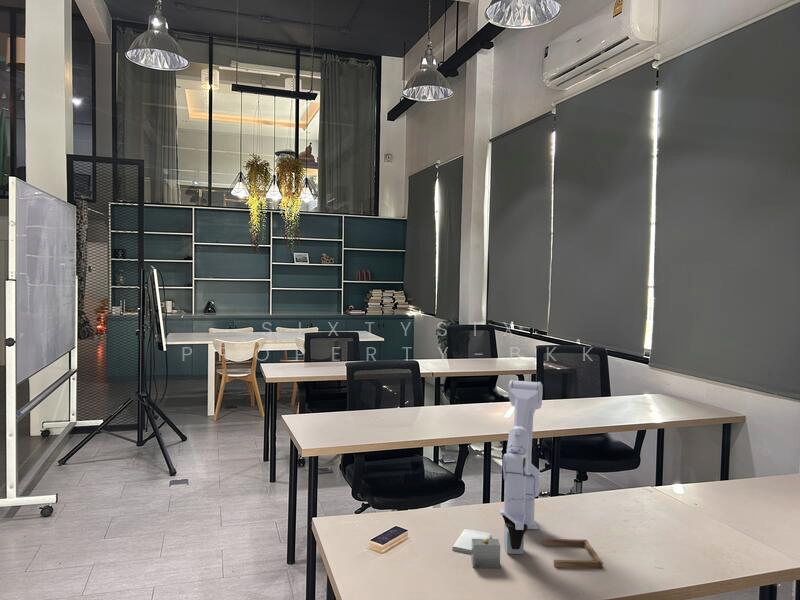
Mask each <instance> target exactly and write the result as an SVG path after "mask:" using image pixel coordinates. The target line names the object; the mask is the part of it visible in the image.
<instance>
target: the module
mask: <svg viewBox="0 0 800 600" xmlns="http://www.w3.org/2000/svg"><path fill="white" fill-rule="evenodd" d="M503 529H504V531H503V534H504V535H503V547H504V549H505V552H506V554H508V555H509V554H511V555H515V554H516V555H517V554H518V555H523V554H524V547H525V545H524V543H525V541H524V540H525V539H524V538H525V536H523V538H522V542H521V546H520V549H512V547H511V542H510V534H509V530H508V528H507V526H506V525H505V524H504V528H503Z"/></svg>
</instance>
